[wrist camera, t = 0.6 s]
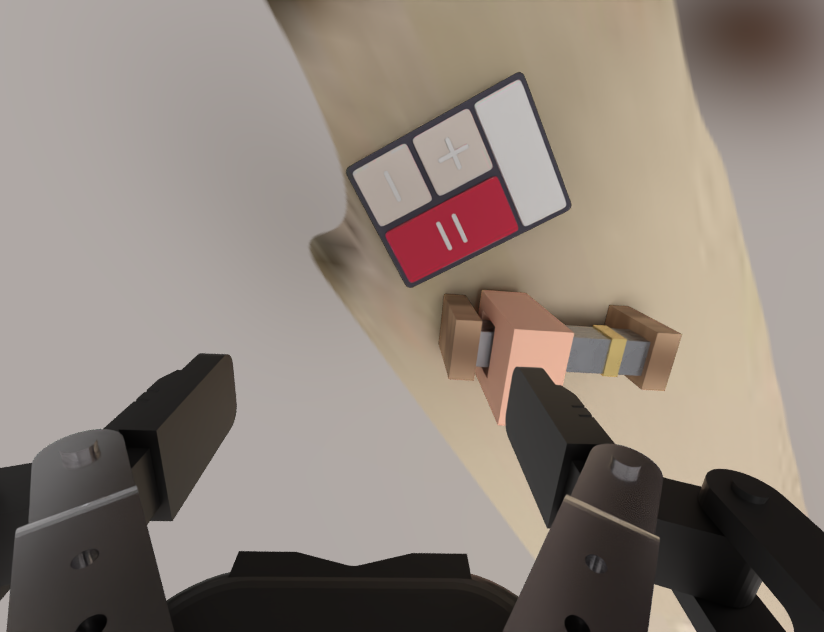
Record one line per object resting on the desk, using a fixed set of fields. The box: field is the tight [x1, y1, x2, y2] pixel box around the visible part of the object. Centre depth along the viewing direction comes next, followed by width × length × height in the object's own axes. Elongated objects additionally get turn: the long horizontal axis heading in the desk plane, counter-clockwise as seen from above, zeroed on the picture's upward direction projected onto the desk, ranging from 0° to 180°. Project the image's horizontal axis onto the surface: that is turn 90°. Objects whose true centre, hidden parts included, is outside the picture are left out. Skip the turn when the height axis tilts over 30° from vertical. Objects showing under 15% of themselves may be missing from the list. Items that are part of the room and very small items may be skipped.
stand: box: [439, 294, 682, 391], centre depth 36 cm, size 5×18×8 cm, turn 85°
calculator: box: [346, 72, 571, 288], centre depth 33 cm, size 11×4×15 cm
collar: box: [475, 290, 574, 426], centre depth 32 cm, size 7×4×10 cm, turn 175°
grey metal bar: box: [476, 320, 651, 377], centre depth 34 cm, size 3×16×3 cm, turn 85°
